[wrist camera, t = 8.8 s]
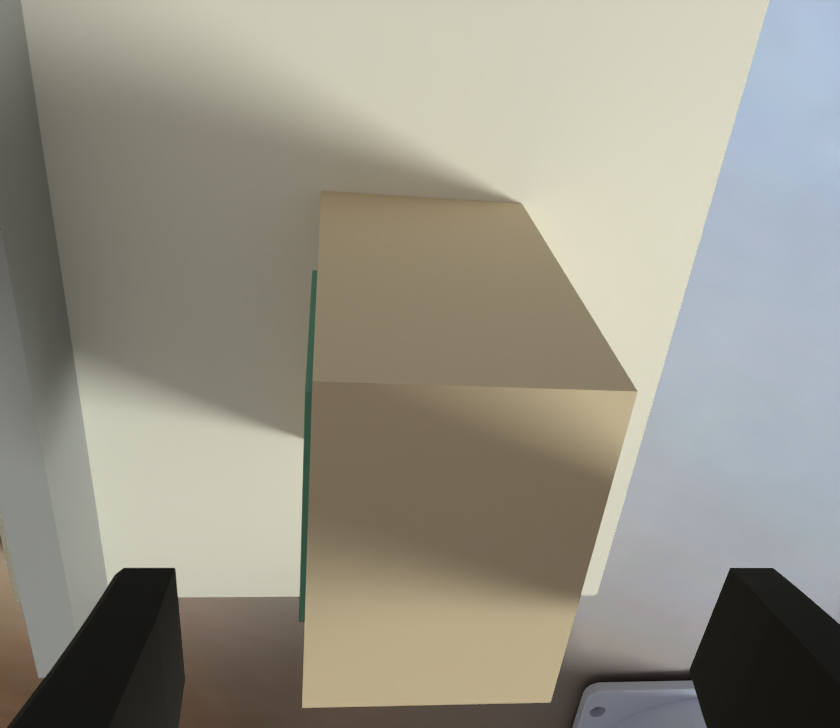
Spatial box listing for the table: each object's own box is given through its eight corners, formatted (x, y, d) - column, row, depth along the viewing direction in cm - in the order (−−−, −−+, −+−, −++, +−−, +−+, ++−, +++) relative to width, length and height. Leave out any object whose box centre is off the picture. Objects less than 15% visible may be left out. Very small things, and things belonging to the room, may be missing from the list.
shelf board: (584, 563, 23) (624, 667, 20) (70, 563, 21) (24, 678, 18) (754, -58, 15) (865, -46, 12) (-58, -146, 13) (-180, -160, 10)
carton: (521, 203, 16) (637, 391, 10) (481, 445, 19) (550, 702, 13) (315, 190, 15) (303, 381, 9) (308, 441, 18) (295, 707, 12)
